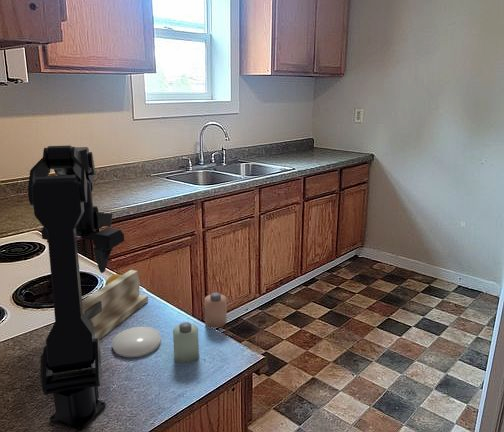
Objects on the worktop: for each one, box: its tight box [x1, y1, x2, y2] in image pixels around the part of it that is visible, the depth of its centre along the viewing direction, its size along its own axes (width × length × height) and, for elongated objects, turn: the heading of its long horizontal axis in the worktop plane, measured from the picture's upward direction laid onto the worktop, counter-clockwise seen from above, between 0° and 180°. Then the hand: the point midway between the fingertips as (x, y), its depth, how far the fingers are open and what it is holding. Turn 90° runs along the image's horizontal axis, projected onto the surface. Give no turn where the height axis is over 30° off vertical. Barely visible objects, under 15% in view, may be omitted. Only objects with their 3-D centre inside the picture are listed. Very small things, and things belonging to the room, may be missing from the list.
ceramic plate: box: [111, 326, 162, 358], centre depth 93 cm, size 10×10×1 cm
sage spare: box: [172, 321, 200, 364], centre depth 88 cm, size 5×5×7 cm
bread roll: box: [104, 273, 141, 286], centre depth 118 cm, size 8×9×4 cm
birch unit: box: [82, 269, 149, 340], centre depth 101 cm, size 22×5×8 cm, turn 159°
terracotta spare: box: [204, 292, 228, 329], centre depth 100 cm, size 5×5×7 cm
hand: (86, 269), depth 100 cm, fingers open, 9 cm apart
